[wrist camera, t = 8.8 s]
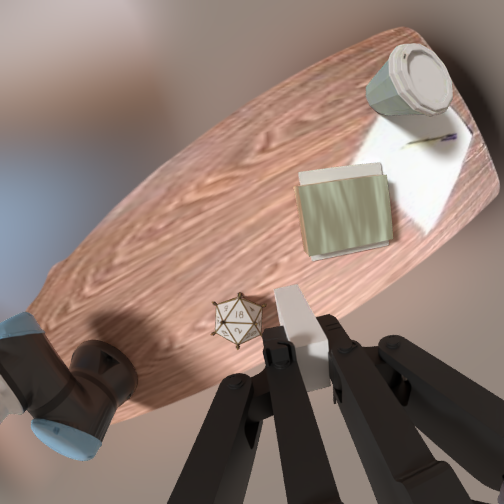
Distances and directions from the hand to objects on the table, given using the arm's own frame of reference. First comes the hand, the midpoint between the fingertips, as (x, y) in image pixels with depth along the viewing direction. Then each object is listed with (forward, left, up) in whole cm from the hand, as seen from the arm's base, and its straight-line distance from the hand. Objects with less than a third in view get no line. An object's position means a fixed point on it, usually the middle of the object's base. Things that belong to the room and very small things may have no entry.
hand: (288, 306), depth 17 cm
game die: (-6, -12, -27) cm, 30 cm away
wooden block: (+6, +1, -24) cm, 25 cm away
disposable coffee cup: (+24, +19, -27) cm, 41 cm away
